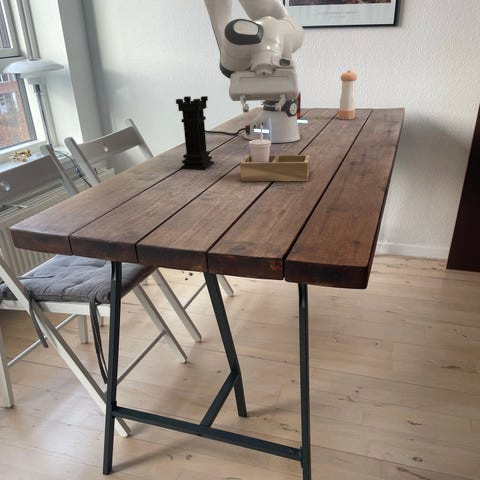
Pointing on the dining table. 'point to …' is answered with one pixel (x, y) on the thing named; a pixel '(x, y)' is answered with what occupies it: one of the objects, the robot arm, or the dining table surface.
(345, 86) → the salt shaker
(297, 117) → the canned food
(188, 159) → the chess piece
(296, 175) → the rack
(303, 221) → the dining table surface
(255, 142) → the smoothie
